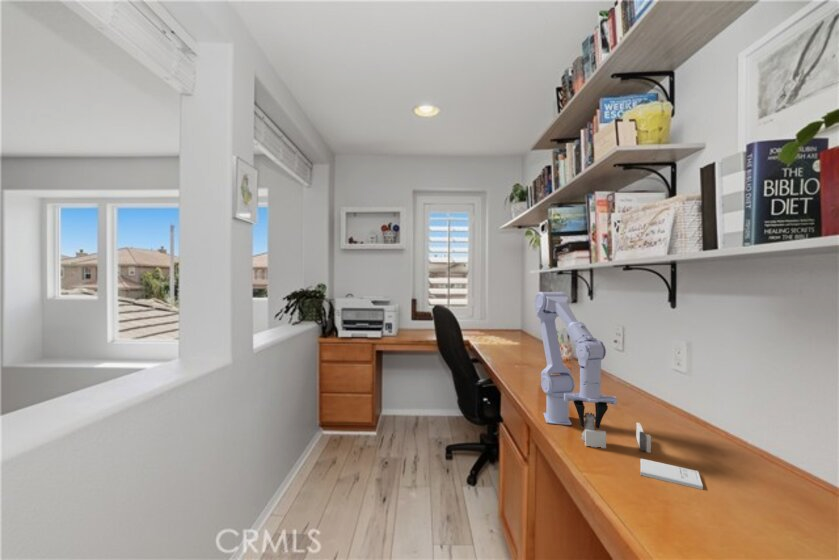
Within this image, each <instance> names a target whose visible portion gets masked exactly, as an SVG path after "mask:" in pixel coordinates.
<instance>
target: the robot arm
mask: <svg viewBox="0 0 839 560" xmlns="http://www.w3.org/2000/svg"><path fill="white" fill-rule="evenodd" d="M533 303H534V308H535V313H536V317H538V321H539V327H540V333H541V337H542V343H543V349H544V354H545V359H546V367H545V368H544V369H542V371H541V372H540V375H541V376H540V377H541V379H540V384H541V385H540V386H541V390H542V391H543V392H544V394H546V395H545V397H546V399H545V400H546V401H545V403H546V406H545V408H546V410H545V411H546V412H543V416H544V420H545V422H546V424H550V425H551V424H552V425H554V424H555V425H565V426H571V425H572V422H571V420H570V417H569V415H570V412H569V410H570V402H573V405H574V406H575V409H576V412H577V415H578V418H579V419H578V420H579V424H580V427H581V428H585V418H584V415H585V403H594V409H595V415H594V416H595V417H596V419H595V420H594V422H595V424H594V427H596V429H600V428H601V427H600V426H601V423H602V420H603V418H604V415H605V414H606V412H607V411H608V409H609V406H608V405H614V406H618V397H616V396H613V395H612V396H611V395H604V394H601V390H602V389H601V388H602V385H601V383H602V381H601V380H602V378H601V377H602V360H604V358H605V357H606V355H607V354H606V353H607V349H606V346H605V345H604V342H603V341H602V340H599V339H597V338H595V337H594V336H593V334H591V332H590V331H589V329H588V328H587V326H586V325H585V323H584V322H581V321H578V319H577V318H576V316H575V314H574V313H573V310H572V309H571V308H570V306H569V303H570V298H569V297H568V296H567V294H566V292H564V291H550V292H549V291H538V292H537V293H536V295H535V298H534V301H533ZM557 317H559V318H560V319H561V320H562V322H563V323H564V324H565V326H567V328H566V332H567V334H568V336H569V338H570V339H571V341H572V343H573V344H574V345H575V347H576V349H575V354H576V357H577V360H578V361H577V364H578V365H579V392H574V390H575V388H576V383H575V380H574V377H573V374H572V371H571V369H569V367H567V366H566V365H564V363H563V358H562V353H561V352H562V351H561V348H560V347H561V346H560V342H559V336H558V331H557V327H556V326H557V325H556V319H557Z"/></svg>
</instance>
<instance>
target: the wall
mask: <svg viewBox="0 0 839 560" xmlns="http://www.w3.org/2000/svg"><path fill="white" fill-rule="evenodd" d="M584 429H585V428H584ZM584 446H585V447H586V446H591V447H590V448H597V447H601V448H600V449H607V431H606V430H597V429H596V430H595V429H594V430H588V429H585V442H584ZM645 452H646V453H649V454H651V452H652V436H651V435H650V434H647V433H646V434H645Z"/></svg>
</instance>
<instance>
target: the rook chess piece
mask: <svg viewBox="0 0 839 560" xmlns="http://www.w3.org/2000/svg"><path fill="white" fill-rule="evenodd" d="M595 416H596V415H595V413H592V412H590V413H589V412H584V430H583V431H582V433H581V440H582V441H583V442H584V441H585V429H588V430H595V419H596V417H595Z"/></svg>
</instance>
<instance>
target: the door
mask: <svg viewBox="0 0 839 560" xmlns="http://www.w3.org/2000/svg"><path fill="white" fill-rule="evenodd" d="M635 423H636V425H635V426H636V427H635V428H636V429H635V431H636V432H635V439H636V441H637V445H638V447H639V451H643V452H644V451H645V432H644V429H643V427H642V424H641V422H635ZM645 452H646V451H645Z"/></svg>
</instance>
